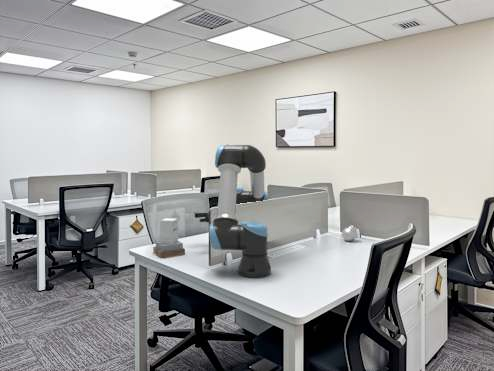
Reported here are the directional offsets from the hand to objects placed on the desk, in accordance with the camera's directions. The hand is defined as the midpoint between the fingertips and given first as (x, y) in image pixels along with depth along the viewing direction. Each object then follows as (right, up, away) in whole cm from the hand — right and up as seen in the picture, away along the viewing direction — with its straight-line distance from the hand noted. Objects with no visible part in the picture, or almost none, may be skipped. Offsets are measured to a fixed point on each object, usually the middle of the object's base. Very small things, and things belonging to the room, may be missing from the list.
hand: (188, 218), depth 209 cm
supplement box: (-10, -13, -4) cm, 16 cm away
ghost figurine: (+95, -16, +25) cm, 100 cm away
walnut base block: (-10, -19, -4) cm, 22 cm away
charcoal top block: (-10, -15, -4) cm, 19 cm away
